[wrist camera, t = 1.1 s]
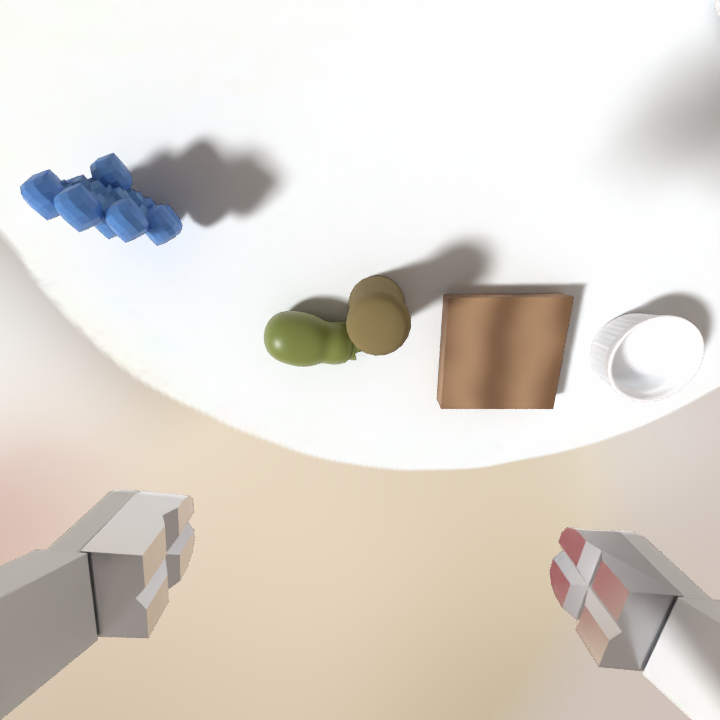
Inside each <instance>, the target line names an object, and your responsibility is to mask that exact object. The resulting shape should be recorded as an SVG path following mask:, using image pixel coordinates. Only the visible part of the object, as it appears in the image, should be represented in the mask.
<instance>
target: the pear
mask: <svg viewBox="0 0 720 720" xmlns="http://www.w3.org/2000/svg"><path fill="white" fill-rule="evenodd" d="M264 343H265V346H266V349H267V351H268V352H269V354H270V355H271V356H272V357H274V358H275V359H277V360H278V361H281V362H283V363H286V364H289V365H294V366H302V367H307V366H313V365H316V364H320V363H326V364H341V363H345V362H347V361H348V360H356V356H355V354H356V352H359V351H362V350H360V349H358V348H357V347H356V346H355V344H354V343H353V342H352V341H351V340H350V337H349V335H348V333H347V327H346V322H344V321H338V322H335V323H334V322H329V321H324V320H322V319H320V318H319V317H317V316H315V315H312V314H309V313H305V312H299V311H284V312H280V313H278V314H276V315H274V316H273V317H272V318H271V319H270V320H269V322H268V323H267V325H266V328H265V332H264Z"/></svg>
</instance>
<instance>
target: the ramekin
mask: <svg viewBox="0 0 720 720" xmlns="http://www.w3.org/2000/svg"><path fill="white" fill-rule="evenodd" d="M703 355H704V340H703V337H702V334H701V332H700V331H699V329H698V328H697V327H696V326H695V325H694V324H693V323H692V322H690V321H688V320H687V319H684V318H682V317H679V316H674V315H652V314H643V313H633V314H626V315H622V316H619V317H617V318H615V319H613V320H611V321H610V322H608V323H607V324H606V325H605V326H604V327H602V328H601V330H600V331H599V332H598V333H597V334H596V336H595V338H594V339H593V342H592V344H591V347H590V353H589V360H590V364H591V367H592V369H593V371H594V372H595V373H596V374H597V376H598V377H599V378H601V379H602V380H603V381H605V382H606V383H607V384H609V385H610V386H611V387H612V388H613V389H614V390H615V391H616V392H617V393H618V394H620V395H621V396H623V397H624V398H626V399H629V400H632V401H637V402H651V401H657V400H660V399H663V398H666V397H668V396H670V395H672V394H674V393H676V392H677V391H679V390H680V389H682V388H683V387H684V386H685V385H686V384H687V383H688V382H689V381H690V380H691V379H692V378H693V377H694V375H695V374H696V372H697V371H698V369H699V367H700V365H701V362H702V359H703Z"/></svg>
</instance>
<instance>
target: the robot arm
mask: <svg viewBox="0 0 720 720" xmlns="http://www.w3.org/2000/svg"><path fill="white" fill-rule="evenodd" d="M713 1H714V5H715V8H716V11H717V13H718V15H719V18H720V0H713ZM193 513H194V504H193V498H191V497H190V496H188V495H179V494H169V493H160V492H150V491H138V490H128V489H115V490H112V491H110V492H109V493H108V494H107V495H106V496H104V497H103V498H102V499H101V500H100V501H99V502H98V503H97V504H96V505H95V506H93V507H92V509H90V510H89V511H88V512H87V513H86V514H85V515H84V516H83V517H81V518H80V519H79V520H78V521H77V522H76V523H75V524H74V525H73V526H72V527H71V528H69V530H67V531H66V532H65V533H64V534H63V535H62V536H61V537H60V538H59V539H57V541H55V542H54V543H53V544H52V545H51V546H50V547H49V548H48V549H47V550H40V549H37V550H34V551H33V552H30V553H28V554H26V555H23V556H21V557H19V558H17V559H15V560H12V561H11V562H8V563H6V564H4V565H1V566H0V720H1V719H2V718H4V717H5V716H6V715H7V714H8V713H10V712H11V711H12V710H13V709H15V708H16V707H17V706H18V705H19V704H21V703H22V702H23V701H24V700H25V699H27V698H28V697H29V696H30V695H32V694H33V693H34V692H35V691H36V690H38V689H39V688H40V687H41V686H42V685H44V684H45V683H46V682H47V681H48V680H50V679H51V678H52V677H53V676H55V675H56V674H57V673H58V672H59V671H60V670H62V669H63V668H64V667H65V666H67V665H68V664H69V663H70V662H72V661H73V660H74V659H75V658H76V657H78V656H79V655H80V654H81V653H83V652H84V651H85V650H86V649H87V648H88V647H90V646H91V645H92V644H93V643H95V642H96V641H97V640H98V637H126V638H149V636H150V634H151V632H152V631H153V629H154V627H155V625H156V624H157V622H158V620H159V618H160V616H161V615H162V613H163V611H164V609H165V608H166V606H167V604H168V602H169V601H168V589H169V588H171V587H172V586H173V585H175V584H176V583H178V582H179V581H180V580H181V578H182V576H183V575H184V572H185V571H186V569H187V567H188V564H189V561H190V558H191V555H192V552H193V546H194V529H193V528H192V526H191V525H190V524H189V523H188V521H189V519H190V518H191V516H192V515H193ZM559 544H560V546H561V548H562V551H561V552H560V553H559V554H558V555H556V556H555V557H554V558H553V560H552V564H551V568H550V578H551V585H552V588H553V591H554V594H555V596H556V598H557V600H558V601H559V603H560V605H561V606H562V608H563V609H564V610H566V611H567V612H568V613H569V614H571V615H572V616H573V617H574V618H575V619H576V631H577V633H578V634H579V636H580V638H581V639H582V641H583V642H584V644H585V646H586V647H587V649H588V651H589V652H590V654H591V656H592V657H593V659H594V660H595V662H596V663H597V665H598V667H604V668H615V669H625V670H635V671H644V672H643V675H644V676H645V677H647V679H649V680H650V681H651V682H652V683H653V684H654V685H655V686H656V687H657V688H658V689H659V690H660V691H662V692H663V693H664V694H665V695H666V696H667V697H668V698H669V699H670V700H671V701H672V702H673V703H674V704H676V705H677V706H678V707H679V708H680V709H681V710H682V711H683V712H684V713H685V714H686V715H687V716H688V717H689V718H690V719H691V720H720V600H713V599H711V598H710V597H709V596H708V595H707V594H706V593H705V592H704V591H703V590H702V589H701V588H700V587H698V586H697V585H696V584H695V583H694V582H693V581H692V580H691V579H690V578H689V577H688V576H687V575H685V574H684V573H683V572H682V571H681V570H680V569H679V568H678V567H677V566H676V565H675V564H674V563H673V562H671V561H670V560H669V559H668V558H667V557H666V556H665V555H664V554H663V553H662V552H661V551H659V550H658V549H657V548H656V547H655V546H654V545H653V544H652V543H651V542H649V540H648V539H647V538H645V537H644V536H643V535H641V534H639V533H637V532H634V531H619V530H611V531H607V530H596V529H582V528H570V527H567V528H566V529H565V530H564V531H563V532H562V533H561V536H560V539H559Z"/></svg>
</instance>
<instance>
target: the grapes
mask: <svg viewBox="0 0 720 720" xmlns="http://www.w3.org/2000/svg"><path fill="white" fill-rule="evenodd" d="M90 169H91V174H92V178H90V179H87V178H86V177H85V176H84V175H81V176H77V177H74V178H71V179H69V180H62V181H61V180H60V179H59V178H58V177H57V176H56V175H55V174H54V173H53V172H52V171H51V170H46V171H43V172H40V173H38V174H35V175H33V176H32V177H30V178H29V179H28V180H27V181H26V182H25V183H23V184H22V185H21V186H20V189H21V194H22V196H23V198H24V200H25V201H26V202H27V203H28V204H29V205H30V206H31V207H32V208H33V209H34V210H35V211H37V212H38V213H39V214H40V215H41V216H43V217H44V218H45V219H46V220H49V219H52V218H55V217H57V216H59V215H61V216H62V217H63V219H64V220H66V221H67V222H68V223H69V224H70V225H71V226H72V227H74V228H75V229H76V230H77V231H78V232H81V231H84V230H86V229H89V228H91V227H93V226H95V227H96V228H97V229H98V230H99V231H100V232H101V233H102V234H103V235H104V236H105V237H107V238H108V239H110V238H113V237H116V236H118V237H120V238H121V239H122V240H123V241H124V242H125V243H126V242H129V241H131V240H134V239H136V238H137V237H139V236H141V235H143V234H144V233H146V235H147V236H148V237H149V238H150V239H151V240H152V241H153V242H154V243H155V244H156V245H157V246H158V245H161V244H164V243H166V242H168V241H169V240H171V239H173V238H174V237H176V235H178V234H180V232H181V230H182V223H181V220H180V219H179V217H178V216H177V214H176V213H175V212H174V211H173V210H172V208H171V207H170V206H169V205H168V204H165V205H162V204H161V205H158V206H157V205H156V204H155V202H154V201H153V200H152V199H151V198H150V197H147V198H144V196H143V195H142V194H141V193H140V191H138V192H136V191H133V190H132V189H131V188H130V187H131V186H132V184H133V179H132V176H131V173H130V172H129V170H128V169H127V168H126V166H125V165H124V164H123V163H122V162H121V160H120V159H119V158H118V157H117V156H116V155H115V154H114V153H112V154H109V155H106V156H103V157H101V158H98V159H97V160H96V161H95V162H94V163H93V164H92V165H91V166H90Z"/></svg>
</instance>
